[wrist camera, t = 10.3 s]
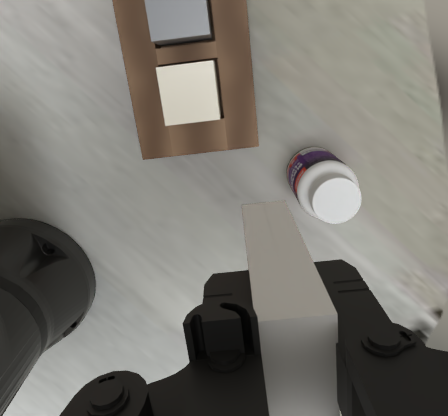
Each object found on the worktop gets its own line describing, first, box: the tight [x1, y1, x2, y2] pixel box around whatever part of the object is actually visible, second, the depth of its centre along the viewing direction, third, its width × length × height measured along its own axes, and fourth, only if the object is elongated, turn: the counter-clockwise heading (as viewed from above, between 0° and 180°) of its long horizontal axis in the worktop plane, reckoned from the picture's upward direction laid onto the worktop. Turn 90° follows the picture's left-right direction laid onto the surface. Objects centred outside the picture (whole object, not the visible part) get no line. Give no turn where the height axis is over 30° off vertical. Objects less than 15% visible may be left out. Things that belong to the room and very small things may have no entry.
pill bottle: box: [287, 147, 361, 224], centre depth 35 cm, size 5×5×10 cm
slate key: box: [145, 0, 212, 46], centre depth 31 cm, size 5×5×5 cm
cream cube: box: [156, 60, 221, 126], centre depth 33 cm, size 5×5×5 cm
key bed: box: [112, 0, 259, 160], centre depth 33 cm, size 11×24×4 cm, turn 7°
